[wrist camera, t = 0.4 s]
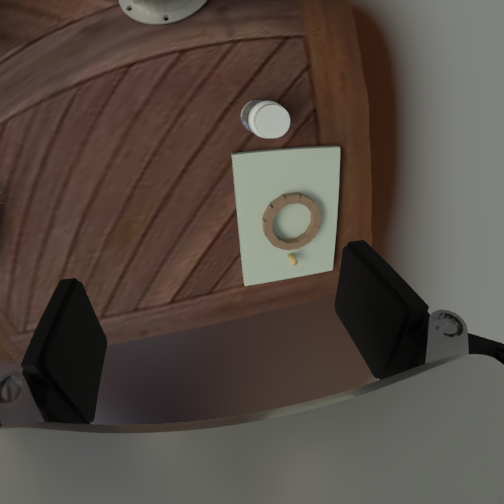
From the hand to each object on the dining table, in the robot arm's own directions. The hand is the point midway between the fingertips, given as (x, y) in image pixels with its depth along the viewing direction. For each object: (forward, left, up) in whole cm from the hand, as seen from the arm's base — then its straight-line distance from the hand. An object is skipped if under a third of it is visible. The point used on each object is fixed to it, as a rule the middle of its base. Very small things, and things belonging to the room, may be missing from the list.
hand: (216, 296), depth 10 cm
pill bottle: (-3, +9, -33) cm, 34 cm away
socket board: (+13, +13, -33) cm, 37 cm away
